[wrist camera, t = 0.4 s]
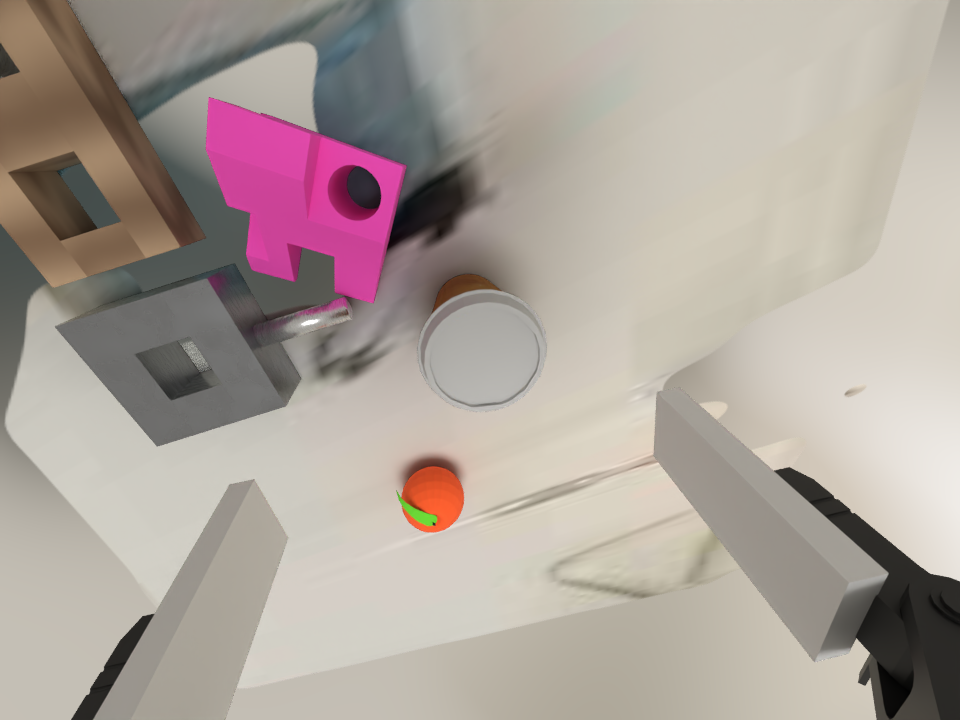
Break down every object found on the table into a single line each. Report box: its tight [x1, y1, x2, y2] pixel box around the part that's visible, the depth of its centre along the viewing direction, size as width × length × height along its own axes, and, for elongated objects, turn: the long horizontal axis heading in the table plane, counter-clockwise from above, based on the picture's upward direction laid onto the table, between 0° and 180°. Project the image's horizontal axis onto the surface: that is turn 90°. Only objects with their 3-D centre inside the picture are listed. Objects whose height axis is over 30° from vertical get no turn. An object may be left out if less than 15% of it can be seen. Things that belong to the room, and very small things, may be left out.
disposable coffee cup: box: [417, 274, 547, 412], centre depth 33 cm, size 10×10×12 cm
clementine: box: [396, 466, 464, 532], centre depth 44 cm, size 8×7×7 cm
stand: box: [0, 0, 206, 288], centre depth 27 cm, size 19×10×4 cm, turn 16°
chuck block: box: [55, 264, 353, 446], centre depth 35 cm, size 12×20×5 cm, turn 106°
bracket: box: [206, 97, 407, 303], centre depth 29 cm, size 12×10×10 cm
